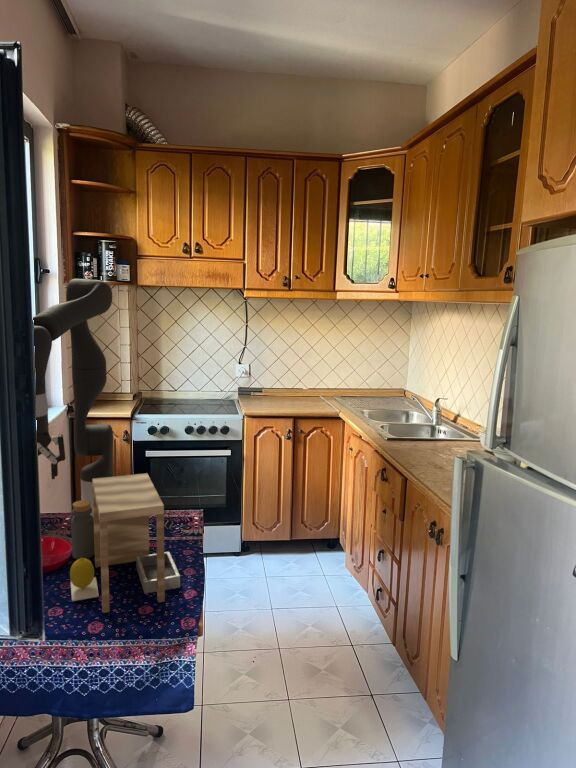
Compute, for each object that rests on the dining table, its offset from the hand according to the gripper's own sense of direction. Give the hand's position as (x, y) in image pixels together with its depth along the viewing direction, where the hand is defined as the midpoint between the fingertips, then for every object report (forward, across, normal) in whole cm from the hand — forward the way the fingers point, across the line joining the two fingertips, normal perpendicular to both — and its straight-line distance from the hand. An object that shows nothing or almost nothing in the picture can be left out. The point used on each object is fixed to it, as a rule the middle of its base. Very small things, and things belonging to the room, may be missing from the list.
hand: (33, 480), depth 129 cm
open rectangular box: (+28, -28, +3) cm, 40 cm away
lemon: (+28, -10, +3) cm, 30 cm away
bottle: (+28, -11, -16) cm, 34 cm away
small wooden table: (+28, -20, +3) cm, 35 cm away
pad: (+28, -10, +3) cm, 30 cm away
